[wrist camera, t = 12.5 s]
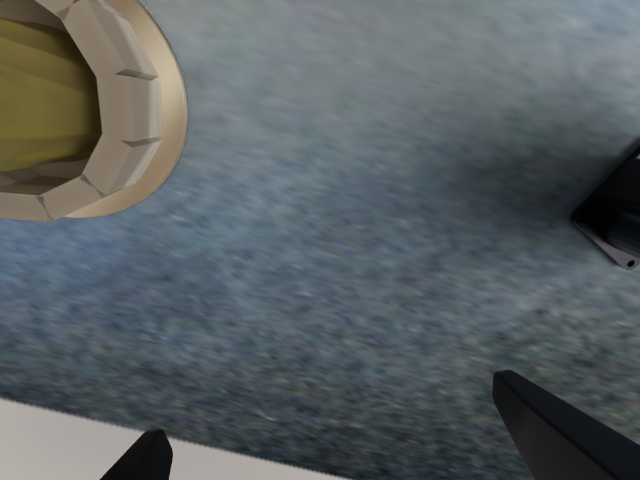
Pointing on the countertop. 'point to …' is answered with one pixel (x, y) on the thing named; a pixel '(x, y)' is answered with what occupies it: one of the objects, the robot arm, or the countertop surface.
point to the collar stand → (107, 113)
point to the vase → (45, 97)
